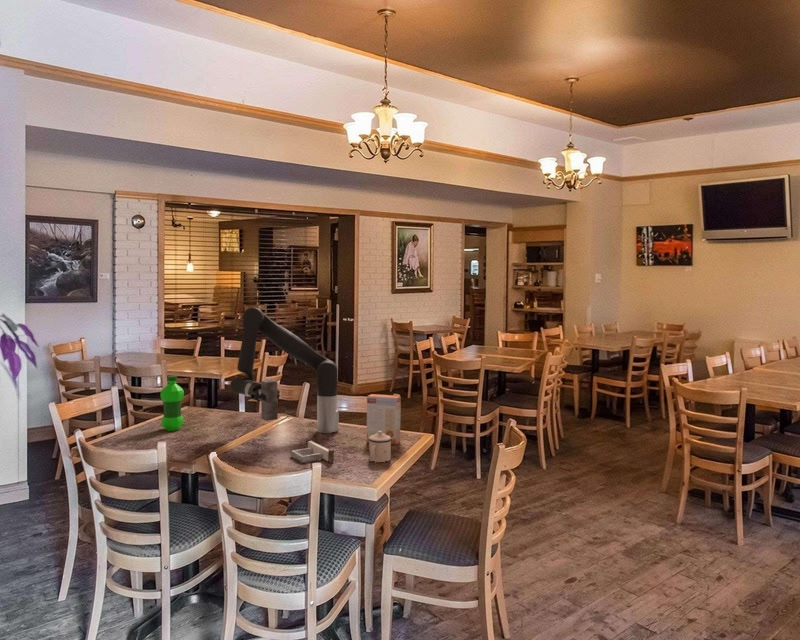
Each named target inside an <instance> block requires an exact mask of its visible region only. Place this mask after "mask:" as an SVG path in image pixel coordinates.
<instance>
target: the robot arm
mask: <svg viewBox="0 0 800 640" xmlns="http://www.w3.org/2000/svg"><path fill="white" fill-rule="evenodd" d="M242 329H243V330H242V337H241V338H242V340H241V344H240V350H239V355H238V361H237V366H236V367H237V371H238V372H240V373H244V374H245V377H240V376H235V377H234V378H232V379H231V381H230V384H229V385H230V389H231V391H232V392H233V393H235V394H240V395H245V396H247V399H249V400H253V401H255V402H261V400H264V401H266V395H264V394H262V393H261V382H257V381H255V378H254V365H255V357H256V348H257V347H256V344H257V337H258V333H259V332H260V333H261V334H263V335H264V336H265V337H267V338H268V339H269V340H270V341H271V342H272V343H273V344H274V345H275V346H277V347H278V348H279V349H280V350H282V351H283V352H284V353H285V354H286V355H289V356H290V357H292V358H293V359H296V360H298V361H300V362H302V363H305V365H307V366H309V367H310V368H311V369H312V370H314V371H315V372H316V375H317V376H316V378H317V381H316V382H317V384H316V387H317V390H316V391H317V395H316V396H317V398H316V399H317V400H316V403H317V407H316V410H317V411H316V412H317V413H316V415H317V416H316V421H317V422H316V432H318V433H321V434H332V432H334V433H336V432H339V421H340V419H339V417H340V415H339V414H340V412H339V410H338V366H337V364H336V362H334V361H333V360H331V359H329V358H327V357H325V356H323V355H322V354H321V353H319V352H317V350H315V349H313V348H312V347H311V346H310V345H309V344H308V343H306V342H305V341H304V340H303V339H301V338H300V337H299V336H297V335H296V334H294V333H293V332H291V330H288V329H286V328H285V327H284V326H281V325H279V324H278V323H276V322H275V321H273V319H271V318H270V317H269V316H267V315H266V314H265V313H264V311H262V310H261V309H260V308H257V307H253V306H251V307H248V308H247V309H246V310H244V312H243V314H242ZM280 394H281V393H280V390H279V388H277V400H279V399H280Z"/></svg>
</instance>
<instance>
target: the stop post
mask: <svg viewBox="0 0 800 640" xmlns="http://www.w3.org/2000/svg"><path fill="white" fill-rule="evenodd" d="M260 383H261V393H262V394H264V395H266V401H264V400H261V401H260V402H261V405H260V406H261V415H260V416H261V420H264V421H266V422H267V421H268V422H269V421H273V420H274V421H275V420H276V421H277V420H278V419H279V417H278V399H277V389H278V381H277V380H274V379H266V380H261V381H260Z"/></svg>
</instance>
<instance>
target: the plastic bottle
mask: <svg viewBox="0 0 800 640" xmlns="http://www.w3.org/2000/svg"><path fill="white" fill-rule="evenodd" d="M176 381H178V376H177V375H168V376H167V382H168V384H166V385H165V386H164V387H163V388H162V389H161V390H160V393H159V394H160V400H161V401H162V403H163V405H162V406H163V417H162V419H161V421H160V422H161V427H163V429H165V430H166V431H169V432H170V431H171V432H173V431H178V430H179V429H180V428H182V426H183V424H184V417H183V415H182V400H183V399H184V396H185V395H184V394H185V391H184V389H183V388H182V387H181V385H179V384H177V382H176Z"/></svg>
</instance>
